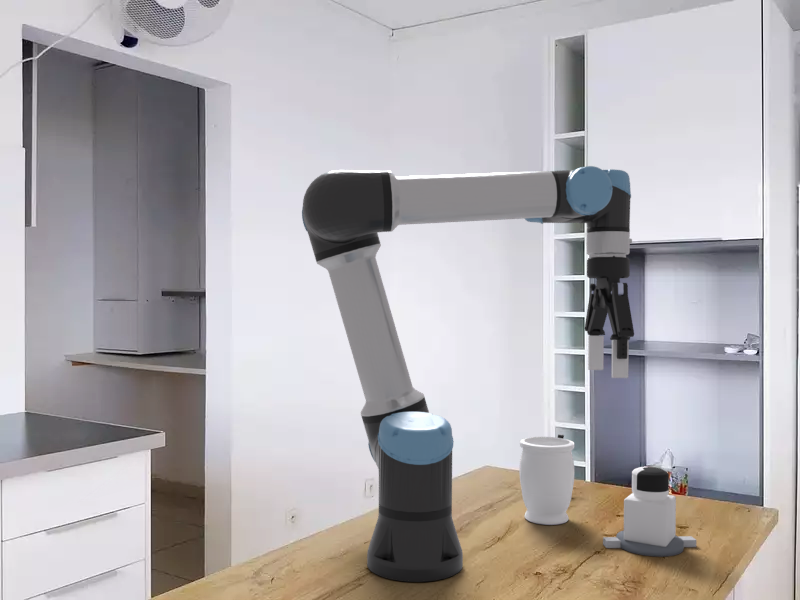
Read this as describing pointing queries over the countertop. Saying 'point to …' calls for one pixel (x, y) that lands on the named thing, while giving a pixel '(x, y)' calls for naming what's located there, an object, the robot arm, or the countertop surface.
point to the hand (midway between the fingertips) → (607, 373)
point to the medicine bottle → (650, 508)
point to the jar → (546, 478)
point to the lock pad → (650, 550)
